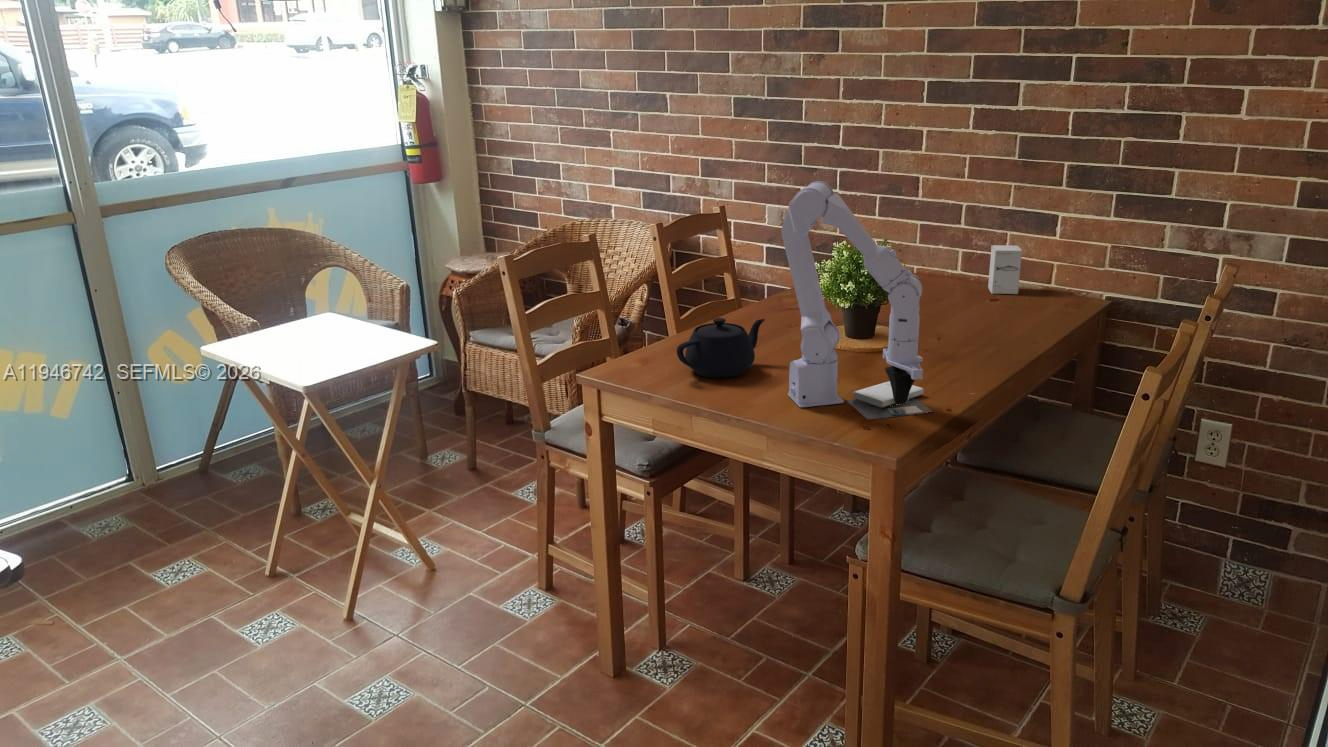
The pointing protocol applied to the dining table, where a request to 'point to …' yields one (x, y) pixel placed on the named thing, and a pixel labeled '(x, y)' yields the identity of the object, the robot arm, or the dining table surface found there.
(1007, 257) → the supplement box
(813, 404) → the robot arm
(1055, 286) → the dining table surface
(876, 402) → the external hard drive
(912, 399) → the bay plate
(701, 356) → the teapot
